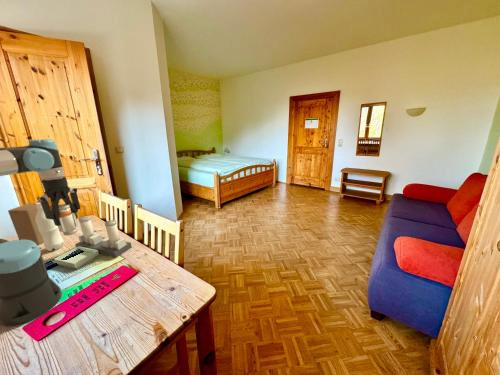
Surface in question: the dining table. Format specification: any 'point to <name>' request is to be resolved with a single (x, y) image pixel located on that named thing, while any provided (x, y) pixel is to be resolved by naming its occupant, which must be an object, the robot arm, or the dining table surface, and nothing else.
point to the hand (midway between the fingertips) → (69, 228)
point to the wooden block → (26, 222)
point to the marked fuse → (67, 219)
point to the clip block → (104, 245)
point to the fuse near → (112, 232)
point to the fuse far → (86, 228)
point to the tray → (77, 258)
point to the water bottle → (48, 230)
